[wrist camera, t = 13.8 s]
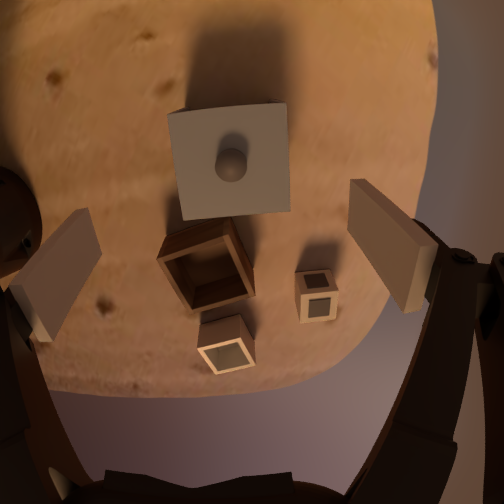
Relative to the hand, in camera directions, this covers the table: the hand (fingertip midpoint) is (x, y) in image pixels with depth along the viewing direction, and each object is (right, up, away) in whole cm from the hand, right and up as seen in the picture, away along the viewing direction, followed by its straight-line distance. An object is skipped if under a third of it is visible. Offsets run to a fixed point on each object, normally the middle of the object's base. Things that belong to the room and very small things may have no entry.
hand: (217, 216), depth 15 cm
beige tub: (-2, -13, +29) cm, 32 cm away
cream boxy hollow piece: (+9, -6, +25) cm, 28 cm away
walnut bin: (-3, -2, +22) cm, 22 cm away
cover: (0, +9, +16) cm, 18 cm away
